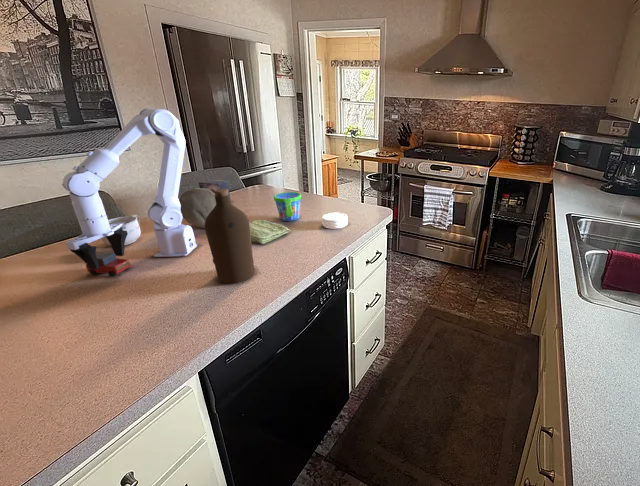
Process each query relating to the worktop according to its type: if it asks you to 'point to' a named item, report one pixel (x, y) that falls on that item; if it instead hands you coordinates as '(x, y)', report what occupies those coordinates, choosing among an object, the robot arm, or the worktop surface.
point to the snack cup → (288, 205)
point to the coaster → (334, 220)
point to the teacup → (127, 228)
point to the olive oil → (229, 240)
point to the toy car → (109, 264)
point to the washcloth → (266, 231)
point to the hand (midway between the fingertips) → (107, 261)
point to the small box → (214, 185)
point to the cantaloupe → (197, 205)
